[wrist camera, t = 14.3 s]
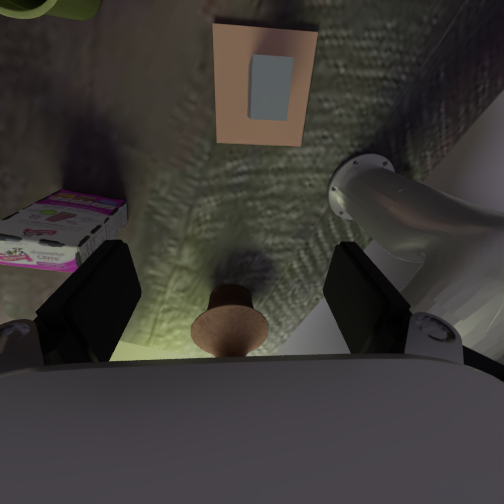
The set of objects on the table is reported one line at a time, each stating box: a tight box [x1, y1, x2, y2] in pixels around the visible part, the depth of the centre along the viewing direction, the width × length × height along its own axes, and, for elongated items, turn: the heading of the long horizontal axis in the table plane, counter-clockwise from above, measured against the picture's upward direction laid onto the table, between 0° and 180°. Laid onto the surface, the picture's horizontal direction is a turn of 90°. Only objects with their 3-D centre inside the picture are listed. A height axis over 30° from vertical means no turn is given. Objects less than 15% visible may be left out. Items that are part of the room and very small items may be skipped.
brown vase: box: [191, 284, 268, 357], centre depth 46 cm, size 18×17×28 cm
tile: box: [213, 23, 318, 146], centre depth 34 cm, size 14×14×1 cm
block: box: [247, 54, 294, 121], centre depth 29 cm, size 4×6×9 cm
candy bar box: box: [0, 189, 128, 273], centre depth 35 cm, size 11×5×16 cm, turn 77°
